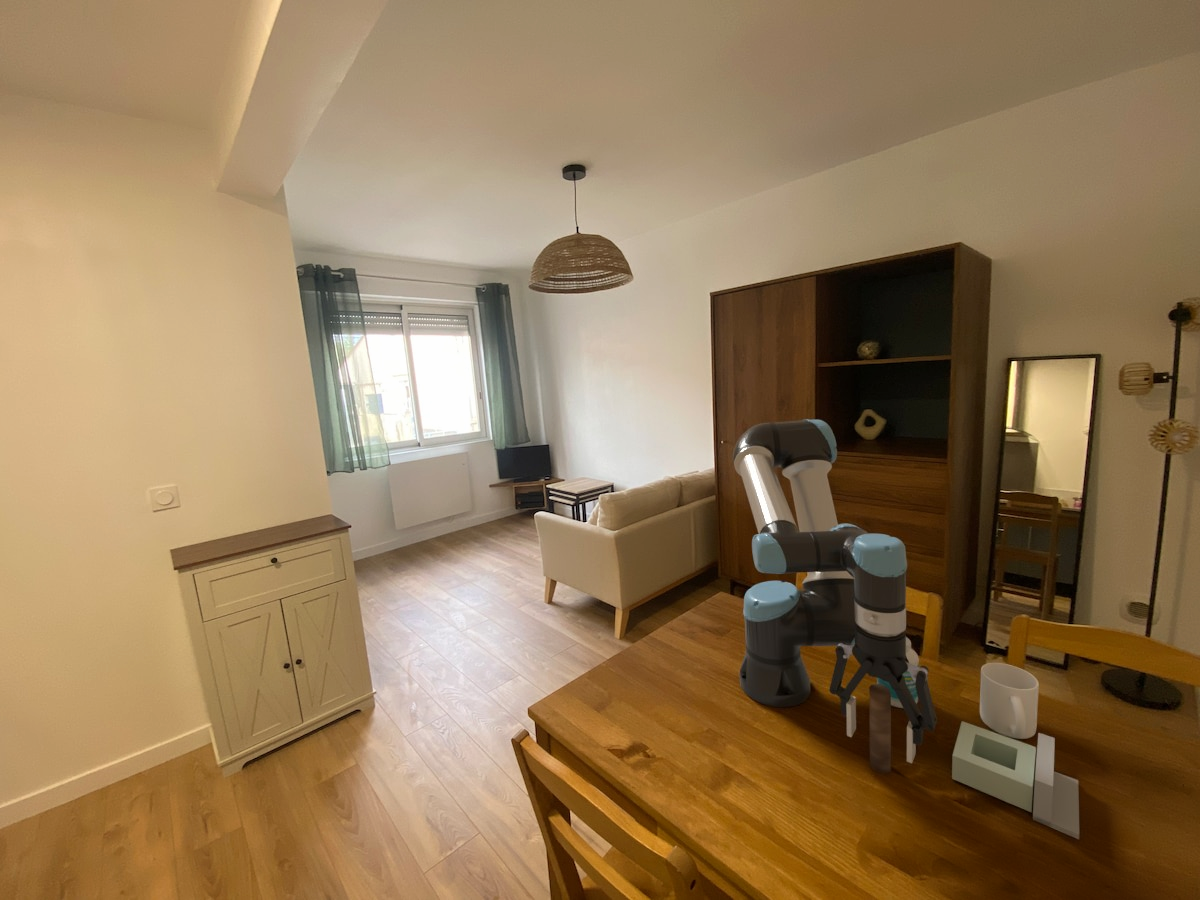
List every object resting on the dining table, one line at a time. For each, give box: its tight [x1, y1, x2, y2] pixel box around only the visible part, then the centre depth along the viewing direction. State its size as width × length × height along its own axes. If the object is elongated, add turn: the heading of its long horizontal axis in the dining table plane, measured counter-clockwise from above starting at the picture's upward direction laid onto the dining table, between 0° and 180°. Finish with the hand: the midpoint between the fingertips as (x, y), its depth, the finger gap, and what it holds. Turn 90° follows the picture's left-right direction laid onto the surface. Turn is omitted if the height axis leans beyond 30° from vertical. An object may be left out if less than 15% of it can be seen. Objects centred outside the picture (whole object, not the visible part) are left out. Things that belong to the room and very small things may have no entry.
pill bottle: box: [876, 636, 920, 709], centre depth 100 cm, size 8×7×14 cm
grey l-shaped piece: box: [1032, 732, 1080, 840], centre depth 75 cm, size 5×12×7 cm, turn 136°
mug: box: [979, 662, 1040, 740], centre depth 89 cm, size 12×8×10 cm
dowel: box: [868, 683, 892, 775], centre depth 83 cm, size 3×3×15 cm
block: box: [951, 720, 1037, 814], centre depth 80 cm, size 10×10×4 cm
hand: (880, 744), depth 84 cm, fingers open, 9 cm apart
